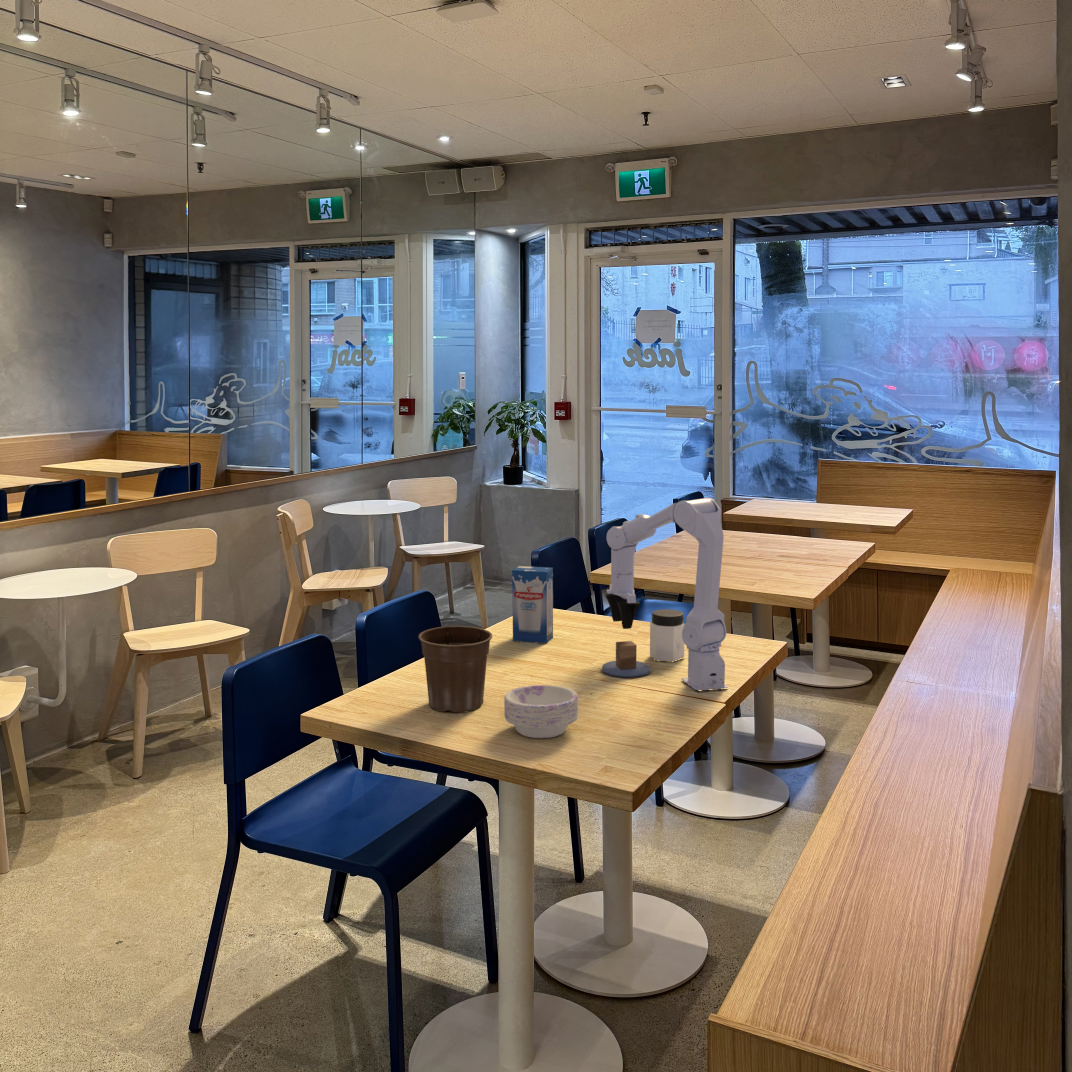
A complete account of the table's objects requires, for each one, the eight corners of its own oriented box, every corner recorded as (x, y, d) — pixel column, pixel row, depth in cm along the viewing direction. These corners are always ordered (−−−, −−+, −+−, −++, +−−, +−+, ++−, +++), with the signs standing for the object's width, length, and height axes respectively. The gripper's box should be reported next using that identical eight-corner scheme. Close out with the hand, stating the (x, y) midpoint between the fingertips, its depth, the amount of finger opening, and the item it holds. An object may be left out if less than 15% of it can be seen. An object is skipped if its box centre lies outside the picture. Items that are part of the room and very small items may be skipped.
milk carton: (512, 640, 275) (511, 570, 272) (519, 635, 281) (518, 565, 278) (547, 643, 272) (546, 571, 269) (553, 637, 278) (553, 567, 275)
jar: (668, 664, 252) (669, 618, 250) (643, 658, 258) (644, 613, 256) (690, 657, 258) (691, 612, 256) (665, 651, 264) (666, 607, 262)
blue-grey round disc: (657, 675, 243) (657, 671, 242) (610, 679, 240) (611, 675, 239) (640, 662, 254) (640, 658, 254) (595, 665, 251) (595, 662, 251)
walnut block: (636, 668, 245) (636, 645, 244) (620, 669, 244) (621, 646, 243) (630, 664, 249) (631, 640, 248) (615, 665, 248) (615, 642, 247)
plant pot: (508, 704, 222) (507, 634, 219) (451, 722, 211) (449, 649, 209) (462, 688, 234) (460, 622, 231) (406, 704, 223) (404, 634, 220)
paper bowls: (536, 713, 216) (535, 678, 215) (592, 728, 207) (592, 692, 206) (489, 733, 205) (488, 696, 203) (546, 750, 195) (546, 711, 194)
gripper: (598, 568, 258) (598, 619, 260) (616, 579, 244) (616, 632, 247) (624, 566, 260) (623, 617, 262) (643, 577, 246) (643, 630, 248)
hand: (622, 624), depth 254 cm, fingers open, 7 cm apart
